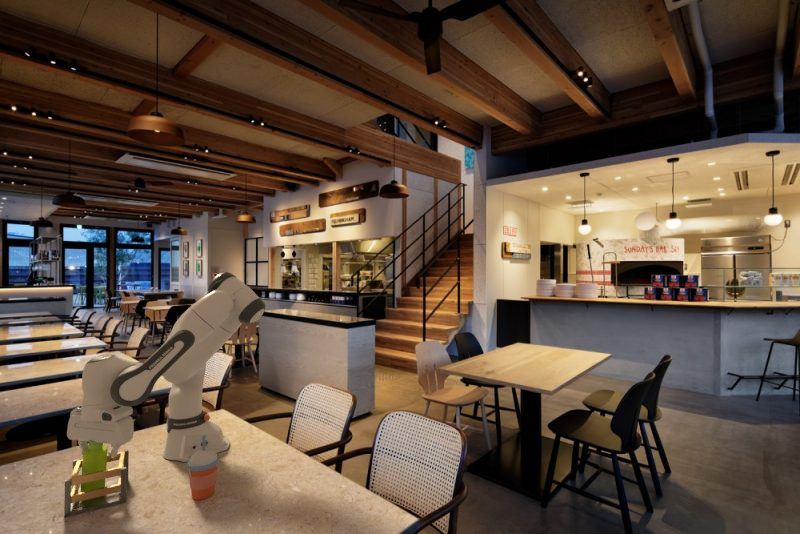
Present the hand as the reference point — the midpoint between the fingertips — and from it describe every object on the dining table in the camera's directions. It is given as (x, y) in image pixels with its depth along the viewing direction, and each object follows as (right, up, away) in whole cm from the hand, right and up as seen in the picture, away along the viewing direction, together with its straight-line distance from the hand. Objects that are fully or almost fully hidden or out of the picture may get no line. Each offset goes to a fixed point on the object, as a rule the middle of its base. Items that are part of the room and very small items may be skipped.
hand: (99, 455), depth 119 cm
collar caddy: (0, -13, 0) cm, 13 cm away
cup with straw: (+30, -13, +2) cm, 33 cm away
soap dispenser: (-2, -12, 0) cm, 12 cm away
